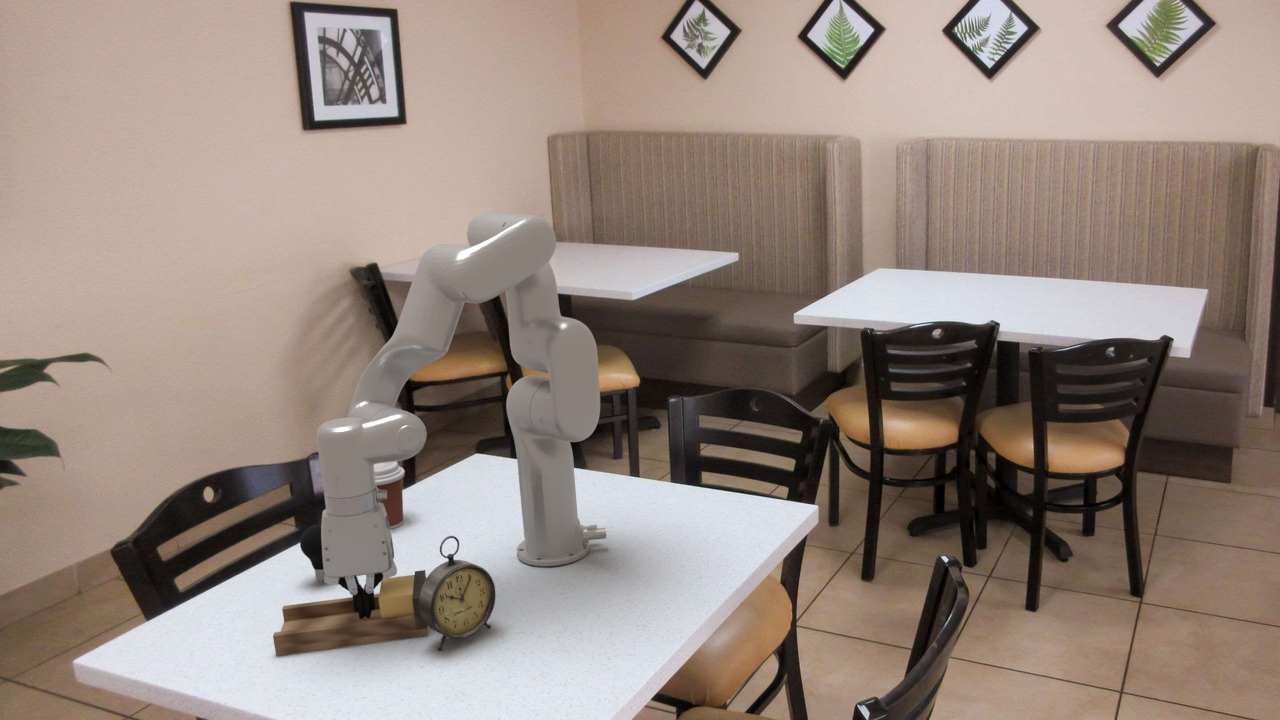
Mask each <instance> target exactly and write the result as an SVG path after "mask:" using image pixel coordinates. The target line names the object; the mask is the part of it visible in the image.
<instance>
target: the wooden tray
mask: <svg viewBox="0 0 1280 720" xmlns="http://www.w3.org/2000/svg"><path fill="white" fill-rule="evenodd" d="M413 575H414V586H413V598H412V600H413V608H414V614H411V615H404V616H396V617H389V618H381V613H380V606H379V593H374V598H375V610H372V612H371V617H370V618H367V617H366V618H363V619H359V612H355V611H354V603H353V596H352V597H343V598H336V599H335V598H334V599H329V600H320V601H312V602H305V603H298V604H287V605H283V606H282V609H281V610H282V617H283V624H282V626H281V630H280V631H276V632H275V631H274V632H273V635H272V638H273V639H272V640H273V643H274V644H273V645H274V652H275V656H276V657H279V656H287V655H294V654H300V653H308V652H317V651H324V650H332V649H340V648H348V647H353V646H360V645H361V646H363V645H368V644H370V645H371V644H376V643H378V644H379V643H384V642H391V641H392V642H393V641H399V640H400V641H401V640H405V639H406V640H407V639H414V638H420V637H428V636H429V626H427V625H426V623H425V622H424V620H423V618H422V616H421V613H420V609H419V597H420V592H421V589H422V586H423V584H424V582H425V580H426V578H427V573H426V569H424V570H415V571H414V574H413Z"/></svg>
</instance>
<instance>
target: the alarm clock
mask: <svg viewBox="0 0 1280 720" xmlns="http://www.w3.org/2000/svg"><path fill="white" fill-rule="evenodd" d="M449 539H454V540H455V541H456V544H457V546H456V550H455V551H454V553H449V554H447V555H445V554H444V553H443V551H442V550H443V546H444V543H445V542H446V541H447V540H449ZM459 549H460V541H459V538H457V536H454V535H449V536H446V537H445V538H444V539H443V540H442V541H441V543H440V545H439V553H440V556H442V557H443V558H445V559H448V560H447V561H445V562H443V563H441V564H439V565H437V566H436V567H435V568H434V569H433V570H432V571H430V573H429V574H428V575H427V576H426V580H425V582H424V584H423V586H422V589H421V592H420V597H419V609H420V613H421V616H422V618H423V620H424V622H425V623H426V625H427V626H428V628H430V629H431V630H432V631H434V632H436V633H438V634H440V635H442V636H441V638H440V642H439V646H438V648H437V651H438V652H439V651H440V652H441V651H443V646H444V645H445V644H446V640H447V639H451V640H463V639H467V638H469V637H472V636H473V635H474V634H476V633H477V632H480V631H479V630H481V629H482V628H483V627H486V629H487V630H490V629H491V625H490V624H488V621H489V619H490V618H491V615H492V613H493V611H494V607H495V604H496V596H497V594H496V585H495V582H494V580H493V577H492V576H491V575H490V573H489V571H487V569H485V568H483V567H482V566H479V565H477V564H474V563H471V562H469V561H467V560H463V559H454V558H455V556H456V554H457V553H458V551H459Z"/></svg>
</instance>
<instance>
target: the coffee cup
mask: <svg viewBox="0 0 1280 720" xmlns="http://www.w3.org/2000/svg"><path fill="white" fill-rule="evenodd" d="M398 462H399V461H395V462H386V463H378V464H374V474H375V482H376V485H377V488H379V490H386V491H387V499H382V500H380V502H381V503H383V504H384V507H385V510H386V513H387V517H388V521H389V525H390V530H394V529H397V528H400V527H401V526H403V524H404V521H405V520H404V502H403V501H404V499H403V478H404V477H405V474H406V470H405V469H404V468H403V467H401V466H400V465H399V463H398Z"/></svg>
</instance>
